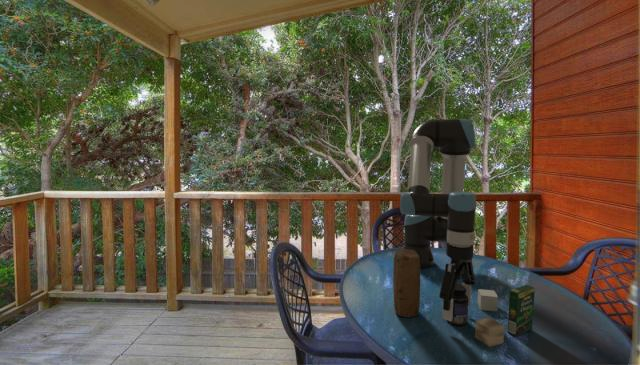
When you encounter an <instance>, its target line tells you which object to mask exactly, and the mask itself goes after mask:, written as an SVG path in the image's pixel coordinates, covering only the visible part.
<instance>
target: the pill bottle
mask: <svg viewBox="0 0 640 365" xmlns="http://www.w3.org/2000/svg"><path fill="white" fill-rule="evenodd" d="M465 293H466V287H465V286H463V285H462V284H458V283H457V284H456V287H455V290H454V293H453V297H452V299H453V319H452V322H451V321H448V320H446V322H448V323H449V324H451V325H453V326H458V327H463V326H466V325H467V324H468V316H469V315H468V314H469V306H468V297H467V295H466V294H465Z"/></svg>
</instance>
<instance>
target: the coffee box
mask: <svg viewBox="0 0 640 365" xmlns="http://www.w3.org/2000/svg"><path fill="white" fill-rule="evenodd" d="M535 290H536V288H535V287H534V286H532V285H528V284H525V285H522V286H519V287H516V288H514V289H510V291H509V302H508V314H507V315H508V320H507V333H508V334H510V335H511V336H513V337H515V338H517V337H519V336H521V335H523V334H525V333H529V332H530V331H532V330H533V324H534V323H533V320H534V306H535V292H536V291H535Z"/></svg>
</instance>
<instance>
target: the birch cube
mask: <svg viewBox="0 0 640 365" xmlns="http://www.w3.org/2000/svg"><path fill="white" fill-rule="evenodd" d="M474 330H475V332H474V334H475V335H474V336H475V338H476V339H477V340H479V341H480V342H482V343H483V344H484V345H486V346H487V347H490V348H491V347H494V346H497V345H501V344H504V341H505V340H504V339H505V325H504V324H502V323H500V322H498V321H497V320H495V319H493V318H492V317H486V318H485V317H484V318H481V319H477V320H475V329H474Z"/></svg>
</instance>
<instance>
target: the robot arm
mask: <svg viewBox="0 0 640 365" xmlns="http://www.w3.org/2000/svg"><path fill="white" fill-rule="evenodd" d="M474 127H475V126H474V123H473V121H472V120H471V119H468V118H467V119H466V118H449V119H448V118H446V119H445V118H444V119H430V120H427V121H424V122H422V123H421V124H419V125H418V126H417V127H416V128H415V129H414V131H413V132H412V133H411V134H410V137H409V140H408V150H409V151H410V156H409V157H410V158H409V168H408V169H409V170H408V179H407V191H406V192H401V193H400V198H399V199H400V200H399V209H400V213H401V214H402V215H405V216H404V223H403V226H404V229H403V230H404V233H403V247H402V249H412V250H414V251H416V252H417V254H418V255H419V257H420V269H425V268H430V267H433V266H434V265H435V258H434V255H433V251H432V247H431V243H432V242H435V243H446V248H445V255H446V256H447V257H448V258H450V263H446V264H445V267H444V275H443V279H442V283H441V287H440V292H439V295H438V296H439V298H440V299H442V314H441V315H442V316H441V318H442V320H446V321H447V320H448V321H451V322H452V319H453V299H452V297H453V293H454V290H455V287H456V284H458V280H460V279H462V283H461V285H463V286H465V287H466V293H465V294H466V295H467V297H468V307H470V306H471V301H472V286H475V284H476V283H475V273H474V267H473V266H474V265H473V258H474V251H475V250H474V244H475V242H474V241H475V239H476V235H475V224H476V223H475V221H476V208H477V202H476V201H477V197H476V194H475V193H473V192H469V191H464V186H465V176H466V175H465V173H466V172H465V171H466V159H467V157H468V156H469V155H470V154H471V150H473V149H475V148H476V134H475V128H474ZM434 149H439V153H440V155H441V156H442V157H443V158H442V179H441V193H431V164H432V163H431V160H432V158H431V157H432V151H433V150H434ZM448 321H447V322H448Z"/></svg>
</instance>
